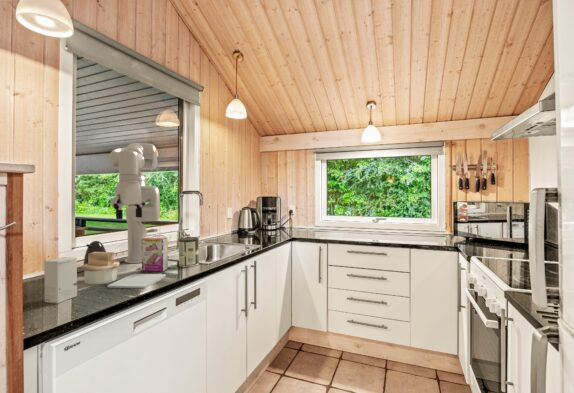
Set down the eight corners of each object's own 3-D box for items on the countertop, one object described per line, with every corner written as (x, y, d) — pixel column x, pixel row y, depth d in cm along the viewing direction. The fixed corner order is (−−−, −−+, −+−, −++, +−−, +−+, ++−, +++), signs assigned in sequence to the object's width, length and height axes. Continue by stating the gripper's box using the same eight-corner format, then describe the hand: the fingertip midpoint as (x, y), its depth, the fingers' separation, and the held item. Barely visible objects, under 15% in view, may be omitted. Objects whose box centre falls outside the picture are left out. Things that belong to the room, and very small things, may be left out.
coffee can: (190, 261, 171) (190, 236, 171) (202, 264, 166) (202, 238, 165) (174, 265, 163) (174, 238, 163) (187, 268, 157) (186, 240, 157)
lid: (97, 265, 143) (96, 249, 143) (126, 265, 142) (125, 250, 141) (74, 273, 129) (73, 256, 129) (105, 273, 128) (105, 256, 128)
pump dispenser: (77, 274, 145) (77, 242, 145) (95, 268, 155) (94, 238, 155) (96, 275, 143) (96, 243, 143) (113, 269, 153) (112, 239, 153)
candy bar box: (141, 271, 150) (140, 238, 150) (146, 269, 155) (146, 236, 155) (163, 272, 149) (162, 238, 149) (168, 269, 154) (167, 236, 154)
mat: (132, 275, 144) (132, 273, 144) (165, 276, 142) (165, 274, 142) (107, 287, 126) (107, 285, 126) (145, 288, 124) (145, 286, 124)
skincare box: (57, 304, 108) (56, 261, 107) (43, 302, 109) (42, 260, 108) (78, 295, 116) (77, 256, 115) (64, 294, 117) (64, 255, 117)
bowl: (97, 276, 142) (97, 263, 142) (122, 277, 141) (122, 263, 141) (78, 284, 130) (78, 270, 130) (105, 285, 129) (105, 270, 129)
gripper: (139, 179, 144) (140, 216, 144) (104, 178, 128) (104, 219, 129) (151, 179, 141) (151, 216, 141) (116, 178, 125) (117, 220, 126)
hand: (129, 218), depth 135 cm, fingers open, 9 cm apart
